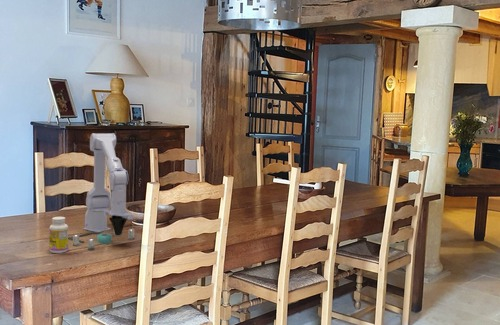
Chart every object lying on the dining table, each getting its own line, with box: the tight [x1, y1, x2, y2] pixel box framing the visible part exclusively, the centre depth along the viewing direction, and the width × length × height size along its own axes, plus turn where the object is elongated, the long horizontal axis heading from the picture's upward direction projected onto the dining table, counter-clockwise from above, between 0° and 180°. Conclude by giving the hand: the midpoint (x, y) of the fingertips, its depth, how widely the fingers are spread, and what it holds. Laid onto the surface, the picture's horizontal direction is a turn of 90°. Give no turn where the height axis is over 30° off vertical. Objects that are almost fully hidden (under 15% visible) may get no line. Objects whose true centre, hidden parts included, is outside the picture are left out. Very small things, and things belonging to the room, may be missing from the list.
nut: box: [96, 232, 113, 245], centre depth 217 cm, size 6×6×3 cm
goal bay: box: [68, 231, 103, 244], centre depth 222 cm, size 9×14×1 cm
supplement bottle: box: [48, 216, 69, 254], centre depth 201 cm, size 7×7×13 cm
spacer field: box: [72, 228, 135, 251], centre depth 217 cm, size 11×23×4 cm, turn 147°
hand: (118, 234), depth 212 cm, fingers closed
